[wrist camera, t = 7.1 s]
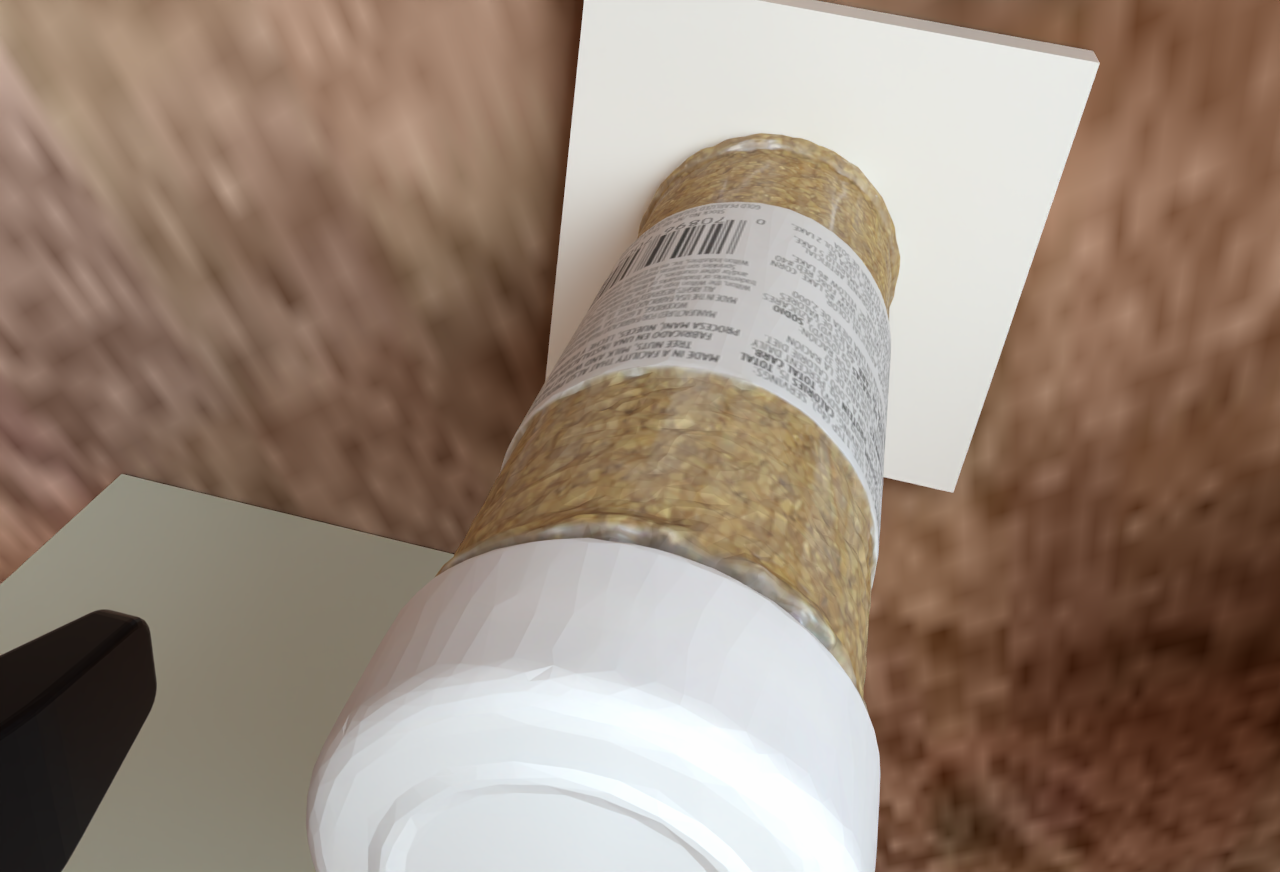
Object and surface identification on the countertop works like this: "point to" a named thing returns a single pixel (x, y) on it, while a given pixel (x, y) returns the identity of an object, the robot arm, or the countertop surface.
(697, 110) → the tile pad
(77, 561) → the pale green board
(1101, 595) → the countertop surface
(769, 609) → the seasoning jar
